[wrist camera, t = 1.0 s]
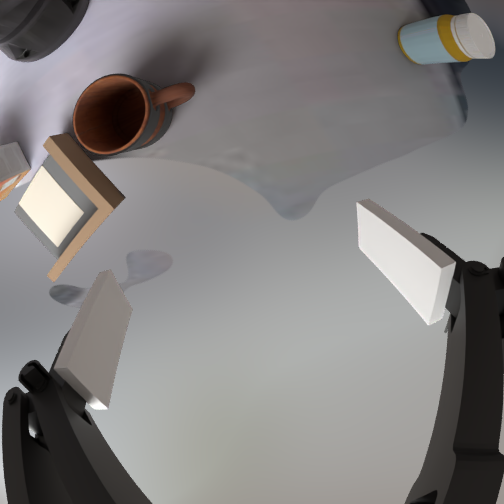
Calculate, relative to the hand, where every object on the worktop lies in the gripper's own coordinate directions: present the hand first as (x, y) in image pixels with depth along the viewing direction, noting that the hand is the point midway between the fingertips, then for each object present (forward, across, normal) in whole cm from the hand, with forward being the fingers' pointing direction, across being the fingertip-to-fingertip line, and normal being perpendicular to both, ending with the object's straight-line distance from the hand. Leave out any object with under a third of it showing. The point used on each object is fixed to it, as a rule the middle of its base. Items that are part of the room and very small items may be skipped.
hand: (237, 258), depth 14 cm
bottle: (+24, +33, +15) cm, 44 cm away
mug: (+24, -6, +10) cm, 27 cm away
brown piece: (+24, -23, +3) cm, 33 cm away
